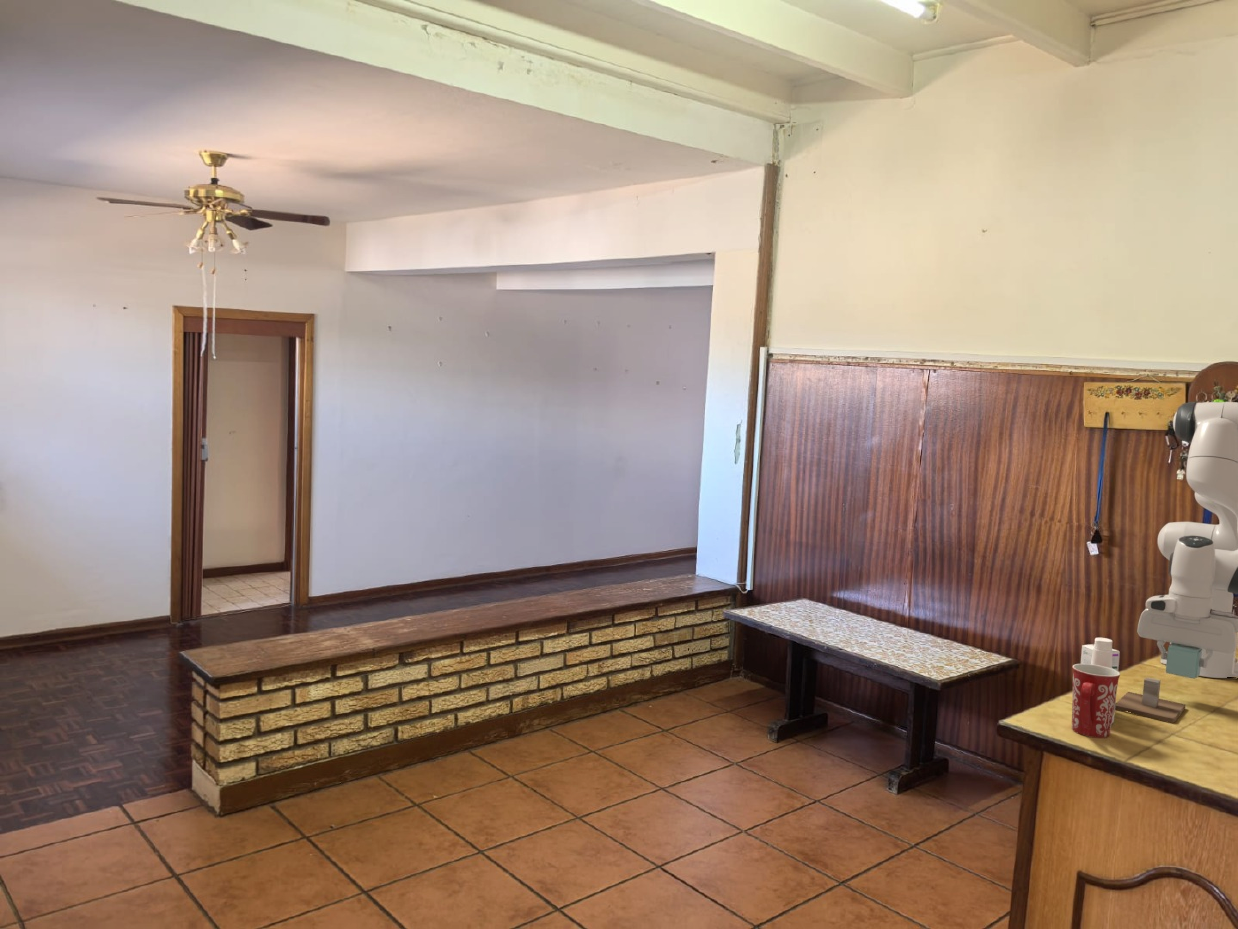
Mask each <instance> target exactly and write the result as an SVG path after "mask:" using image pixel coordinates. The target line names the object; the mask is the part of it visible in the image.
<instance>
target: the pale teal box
mask: <svg viewBox="0 0 1238 929" xmlns="http://www.w3.org/2000/svg"><path fill="white" fill-rule="evenodd" d="M1167 652H1168V653H1167V664H1165V673H1166V674H1167V675H1168V674H1169V675H1174V676H1179V677H1183V678H1184V677H1185V678H1188V679H1192V680H1193V679H1197V678H1198V677H1200V676H1199V675H1200V668H1201V667H1199V664H1200V663H1199V660H1200V659H1201V658H1202V648H1197V647H1191V646H1186V645H1181V644H1176V643H1171V644H1170V643H1169V645H1168V647H1167Z"/></svg>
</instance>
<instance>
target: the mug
mask: <svg viewBox="0 0 1238 929" xmlns="http://www.w3.org/2000/svg"><path fill="white" fill-rule="evenodd" d="M1071 668H1072V699H1071V700H1072V705H1071V707H1072V709H1071V729H1072V731H1073V732H1075V733H1076V734H1080V735H1083V736H1086V737H1090V738H1091V737H1092V738H1097V739H1098V738H1101V739H1102V738H1104V739H1105V738H1108V737H1110V734H1111V729H1112V724H1113V723H1112V717H1113V710H1114V704H1115V698H1116V699H1117V693H1116V692H1118V686H1119V679H1120V676H1121V673H1120V672H1119V670H1118V671H1116V670H1114V669H1111V668H1108V667H1104V666H1099V665H1093V664H1081V663H1076V664H1073V665H1072V667H1071ZM1111 723H1112V724H1111Z"/></svg>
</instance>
